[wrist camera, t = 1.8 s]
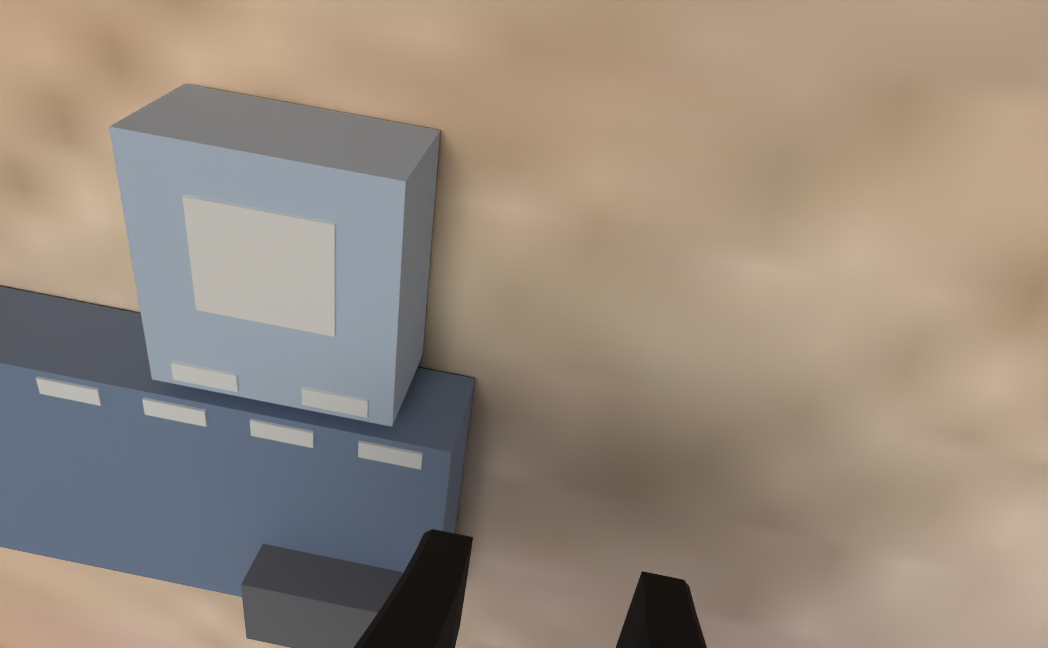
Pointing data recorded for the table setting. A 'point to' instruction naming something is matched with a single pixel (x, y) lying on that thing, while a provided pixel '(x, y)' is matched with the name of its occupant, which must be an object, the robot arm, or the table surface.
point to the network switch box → (216, 475)
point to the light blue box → (279, 248)
